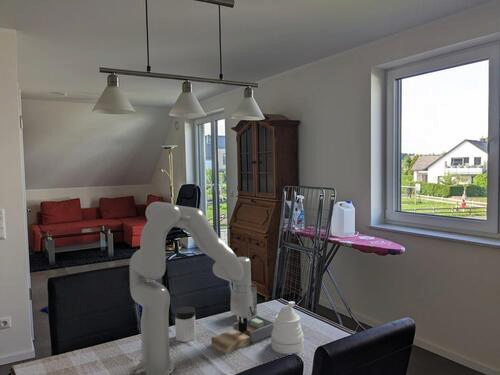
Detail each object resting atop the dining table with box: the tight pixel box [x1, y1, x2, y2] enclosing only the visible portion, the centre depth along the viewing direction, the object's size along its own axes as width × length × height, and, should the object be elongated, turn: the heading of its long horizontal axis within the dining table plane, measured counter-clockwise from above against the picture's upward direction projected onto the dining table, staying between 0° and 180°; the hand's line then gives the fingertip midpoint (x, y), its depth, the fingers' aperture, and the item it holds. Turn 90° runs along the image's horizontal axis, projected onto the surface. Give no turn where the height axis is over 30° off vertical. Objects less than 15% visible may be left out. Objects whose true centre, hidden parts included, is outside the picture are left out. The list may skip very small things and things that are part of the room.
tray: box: [232, 314, 275, 345], centre depth 168 cm, size 14×12×5 cm
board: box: [210, 329, 251, 354], centre depth 160 cm, size 12×10×3 cm
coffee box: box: [251, 281, 258, 317], centre depth 189 cm, size 9×6×16 cm
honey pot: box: [270, 300, 305, 355], centre depth 157 cm, size 13×13×18 cm
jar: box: [174, 306, 197, 343], centre depth 167 cm, size 9×8×12 cm
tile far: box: [251, 318, 264, 328], centre depth 169 cm, size 5×5×3 cm
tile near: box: [242, 325, 259, 336], centre depth 167 cm, size 5×5×3 cm
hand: (242, 330), depth 164 cm, fingers closed
